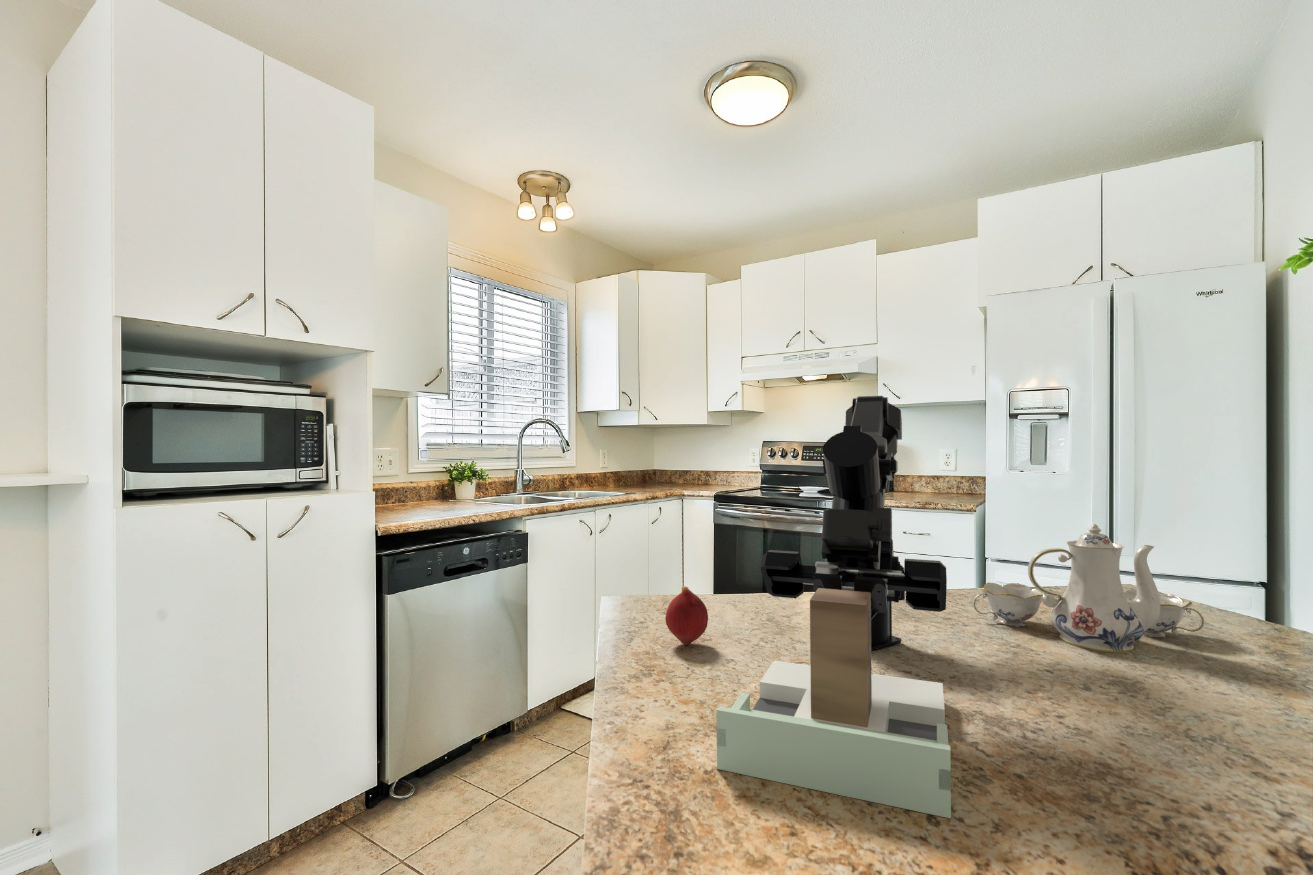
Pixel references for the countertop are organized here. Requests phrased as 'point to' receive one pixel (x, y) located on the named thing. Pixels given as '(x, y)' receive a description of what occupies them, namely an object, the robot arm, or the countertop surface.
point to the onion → (686, 616)
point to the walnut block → (841, 656)
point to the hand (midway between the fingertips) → (844, 651)
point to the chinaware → (1094, 598)
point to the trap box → (843, 741)
